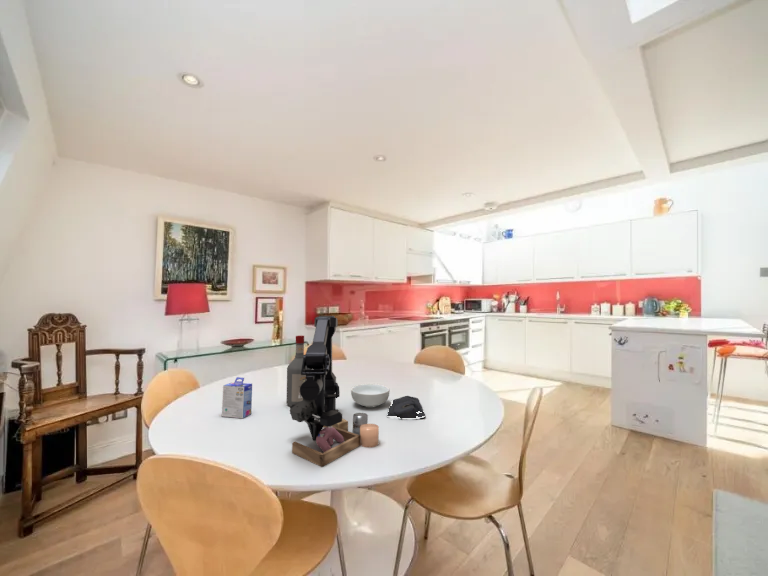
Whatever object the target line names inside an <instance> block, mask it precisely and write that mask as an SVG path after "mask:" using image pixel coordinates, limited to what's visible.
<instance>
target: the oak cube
mask: <svg viewBox="0 0 768 576" xmlns="http://www.w3.org/2000/svg"><path fill="white" fill-rule="evenodd" d="M332 426H334V427H337V428H340V429H343V430H346V431H349V421H348V420H347V419H344V418H343V417H342V422H339V423H337V424H335V425H332Z"/></svg>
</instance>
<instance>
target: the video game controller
mask: <svg viewBox="0 0 768 576" xmlns="http://www.w3.org/2000/svg"><path fill="white" fill-rule="evenodd" d="M334 441H336V442H337V443H339V444H341V443H343V442H345V441H344V438H343V436H342V435H341V434H340V433H339V432H338V431H337V430H336V429H335V428H334V427H332V426H331V427H326V428H325V427H323V428H322V430H321V431H320V433H319V435H318V436H317V438H316V441H315V442H316V445H317V447H318V448H320V449H321V451H322V453H324V452H326V451H328V450H329V449H331V448H333V447H332V445H334Z"/></svg>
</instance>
